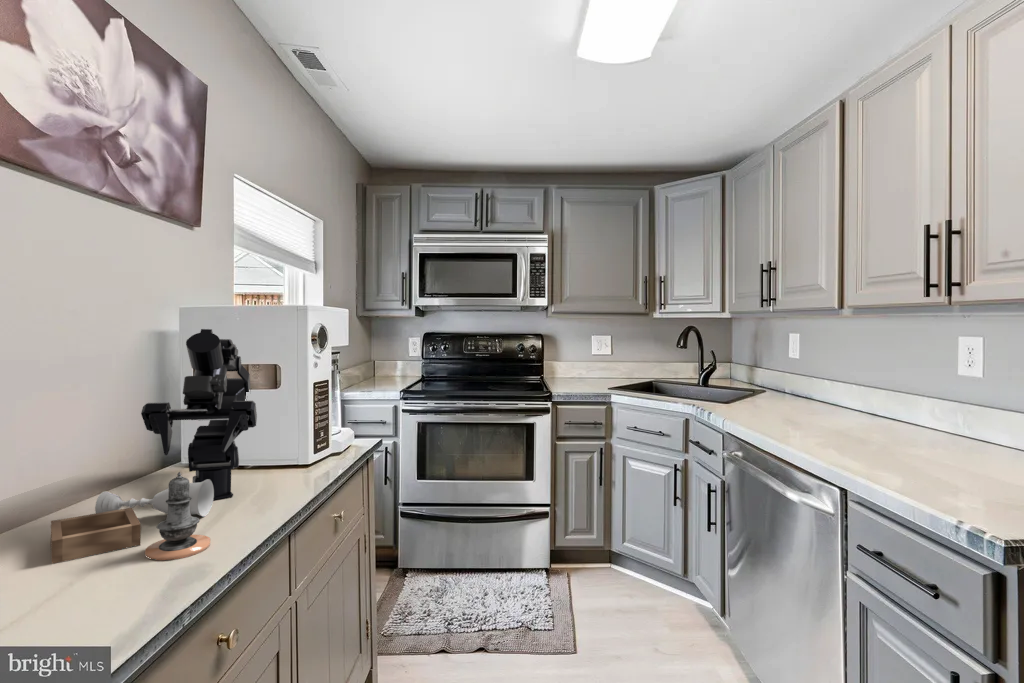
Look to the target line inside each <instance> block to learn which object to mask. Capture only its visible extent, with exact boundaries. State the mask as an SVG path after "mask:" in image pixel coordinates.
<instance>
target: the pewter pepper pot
mask: <svg viewBox="0 0 1024 683" xmlns="http://www.w3.org/2000/svg"><path fill="white" fill-rule="evenodd" d="M189 483H190V480H189V479H188V478H187V477H185V476H182V473H181V472H180V471H179V472H178V473H177V474H176V476H175V477H174V478H172V479H171V480H170V481H169V483H168V488H169V496H168V500H166V503H167V504H168V514H167V516H166V518H165V520H162V521H160V522H159V523H158V524H157V525H156V528H157V529H158V533H159V535H160V536H161V538H162V539H165V540H166V541H164V542H163V543H162V544H161V545H159V549H160V550H162V551H177V550H182V549H186V548H189V547H191V546H193V545H195V544H196V543H197V540H196V539H195V538H193V537H190V536H191V535H194V533H195V532H196V530H197V527H198V524H199V522H200V518H199V517H197V516H193V515H191V514H190V500H191V499H192V498H191V497H189Z"/></svg>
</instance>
